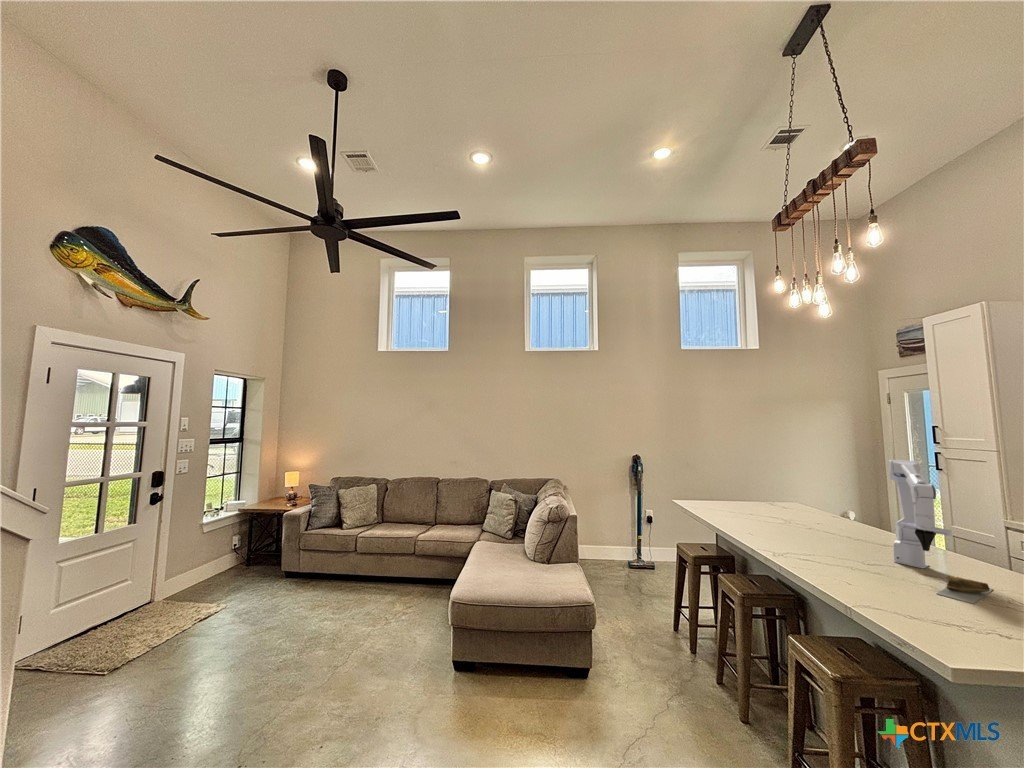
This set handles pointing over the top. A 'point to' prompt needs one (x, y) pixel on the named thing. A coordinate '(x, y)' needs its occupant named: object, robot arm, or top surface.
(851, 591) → the top surface
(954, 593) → the mat
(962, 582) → the rock
